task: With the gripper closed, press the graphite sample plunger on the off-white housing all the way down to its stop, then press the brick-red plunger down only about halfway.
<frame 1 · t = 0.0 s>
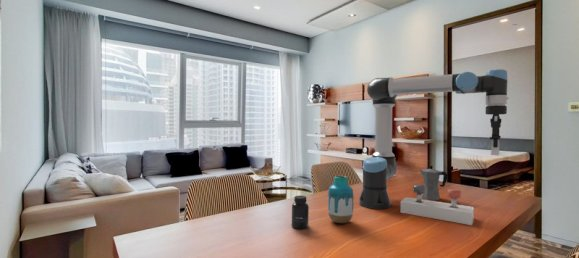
hand: (495, 153, 124), 28 cm above the table, tool pointing down, fingers open, 13 cm apart
red plunger: (454, 199, 122), point 8 cm above the table, slide at 0.0 cm
vase: (340, 222, 118), on the table
coffeepot: (432, 198, 154), on the table
supplement bottle: (300, 226, 113), on the table
sample plunger: (419, 194, 131), point 8 cm above the table, slide at 0.0 cm
housing: (435, 215, 127), on the table
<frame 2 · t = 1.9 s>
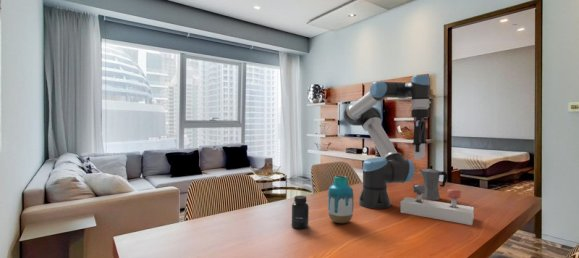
hand: (419, 158, 130), 25 cm above the table, tool pointing down, fingers open, 8 cm apart
nothing on the table moved.
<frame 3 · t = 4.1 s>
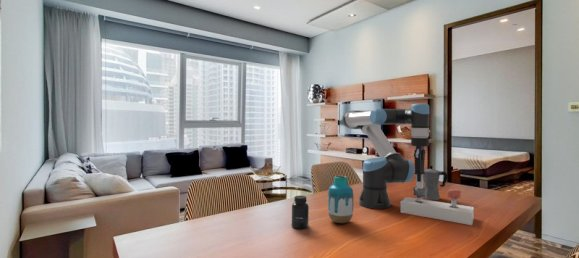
hand: (419, 188, 130), 11 cm above the table, tool pointing down, fingers closed
sample plunger: (419, 197, 131), point 7 cm above the table, slide at 1.4 cm, touching gripper
everything else where it was.
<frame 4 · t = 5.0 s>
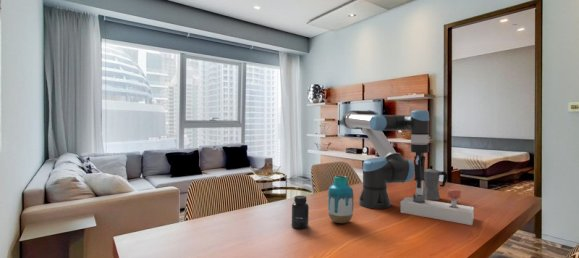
hand: (419, 194, 130), 8 cm above the table, tool pointing down, fingers closed
sample plunger: (419, 203, 131), point 4 cm above the table, slide at 4.3 cm, touching gripper
everything else where it was.
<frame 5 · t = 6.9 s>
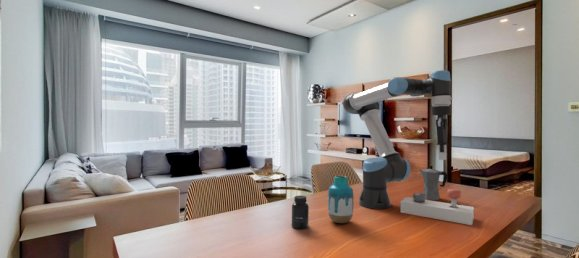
hand: (442, 159, 124), 25 cm above the table, tool pointing down, fingers closed
sample plunger: (419, 202, 131), point 4 cm above the table, slide at 4.1 cm
everything else where it was.
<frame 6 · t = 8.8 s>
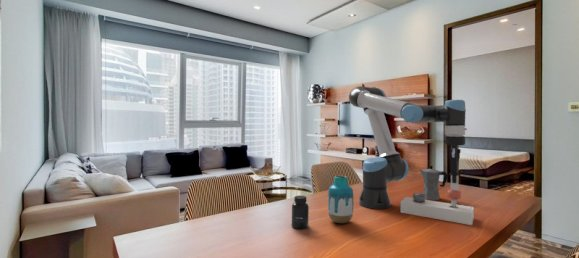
hand: (454, 190, 122), 12 cm above the table, tool pointing down, fingers closed
red plunger: (454, 199, 122), point 8 cm above the table, slide at 0.3 cm, touching gripper
everything else where it was.
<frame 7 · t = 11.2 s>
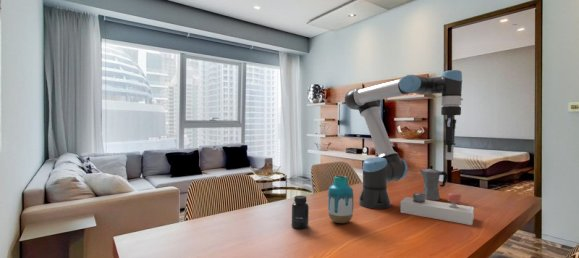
hand: (449, 159, 125), 25 cm above the table, tool pointing down, fingers closed
red plunger: (453, 203, 122), point 7 cm above the table, slide at 1.8 cm
everything else where it was.
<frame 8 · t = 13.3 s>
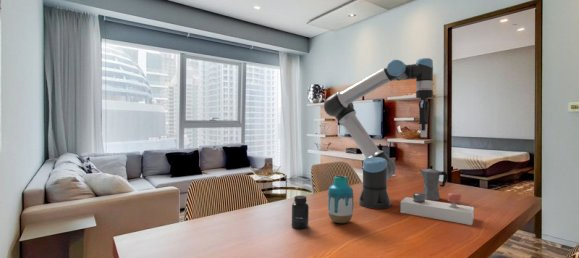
hand: (423, 137, 142), 34 cm above the table, tool pointing down, fingers closed
nothing on the table moved.
at the end: sample plunger slide at 4.1 cm; red plunger slide at 1.8 cm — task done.
